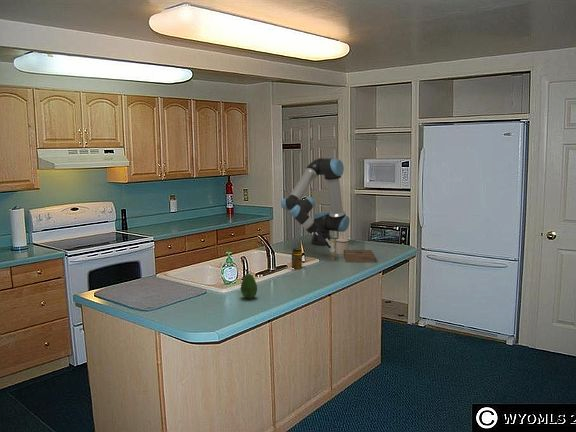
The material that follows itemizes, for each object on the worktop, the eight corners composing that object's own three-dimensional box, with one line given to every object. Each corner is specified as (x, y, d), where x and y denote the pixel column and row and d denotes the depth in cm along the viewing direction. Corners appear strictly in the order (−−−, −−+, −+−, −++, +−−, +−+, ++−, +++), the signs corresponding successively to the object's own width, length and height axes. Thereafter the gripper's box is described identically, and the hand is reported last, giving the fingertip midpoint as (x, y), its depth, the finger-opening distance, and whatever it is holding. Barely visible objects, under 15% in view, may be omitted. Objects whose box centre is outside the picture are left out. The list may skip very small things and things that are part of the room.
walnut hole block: (343, 256, 339) (343, 249, 339) (370, 256, 339) (371, 249, 339) (346, 262, 324) (346, 255, 323) (374, 262, 323) (374, 255, 323)
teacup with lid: (351, 253, 350) (351, 236, 348) (343, 255, 343) (344, 238, 341) (336, 250, 358) (337, 233, 356) (329, 252, 351) (329, 235, 349)
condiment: (304, 269, 306) (304, 249, 304) (292, 271, 302) (293, 250, 300) (297, 266, 312) (297, 247, 310) (286, 268, 308) (286, 248, 306)
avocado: (248, 294, 255) (248, 271, 253) (260, 297, 250) (260, 273, 248) (237, 298, 249) (237, 274, 247) (249, 301, 244) (248, 277, 242)
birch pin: (329, 258, 333) (329, 238, 331) (334, 258, 333) (335, 238, 331) (329, 259, 330) (330, 239, 328) (335, 259, 330) (335, 239, 328)
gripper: (305, 226, 341) (327, 248, 343) (306, 233, 316) (330, 257, 318) (313, 218, 340) (335, 241, 342) (315, 224, 315) (339, 248, 317)
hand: (333, 248), depth 330 cm, fingers open, 13 cm apart
